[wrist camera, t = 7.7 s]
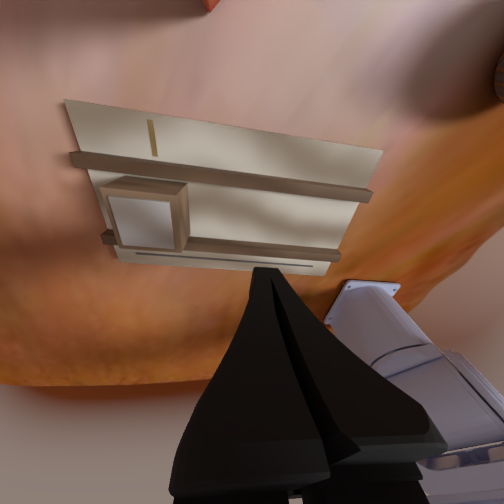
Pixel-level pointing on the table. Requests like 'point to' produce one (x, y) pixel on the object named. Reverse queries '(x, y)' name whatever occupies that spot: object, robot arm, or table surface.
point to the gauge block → (148, 213)
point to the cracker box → (210, 4)
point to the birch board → (230, 187)
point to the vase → (499, 79)
